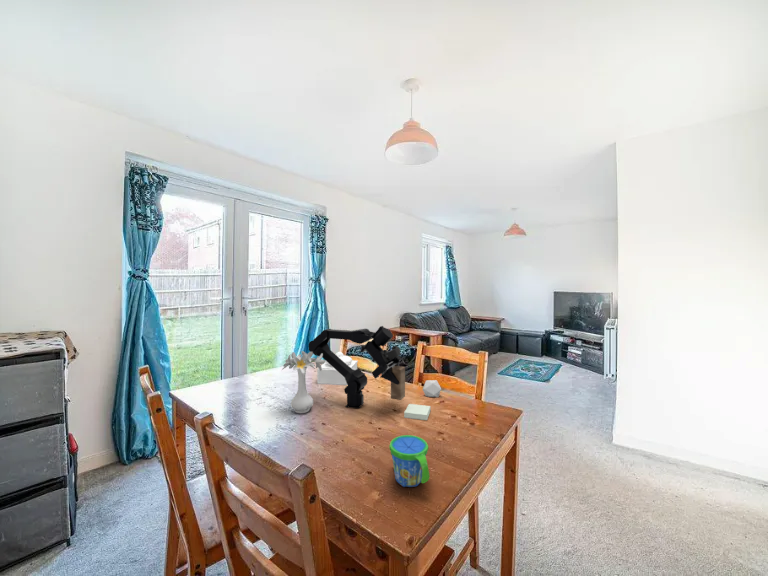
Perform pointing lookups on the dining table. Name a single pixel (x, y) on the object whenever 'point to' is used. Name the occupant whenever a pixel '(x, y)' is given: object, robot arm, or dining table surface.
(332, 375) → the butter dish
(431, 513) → the dining table surface
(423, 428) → the dining table surface
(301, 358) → the flower vase
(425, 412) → the top slab
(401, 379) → the pillar
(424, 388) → the die
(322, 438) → the dining table surface
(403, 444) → the snack cup
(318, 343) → the robot arm
